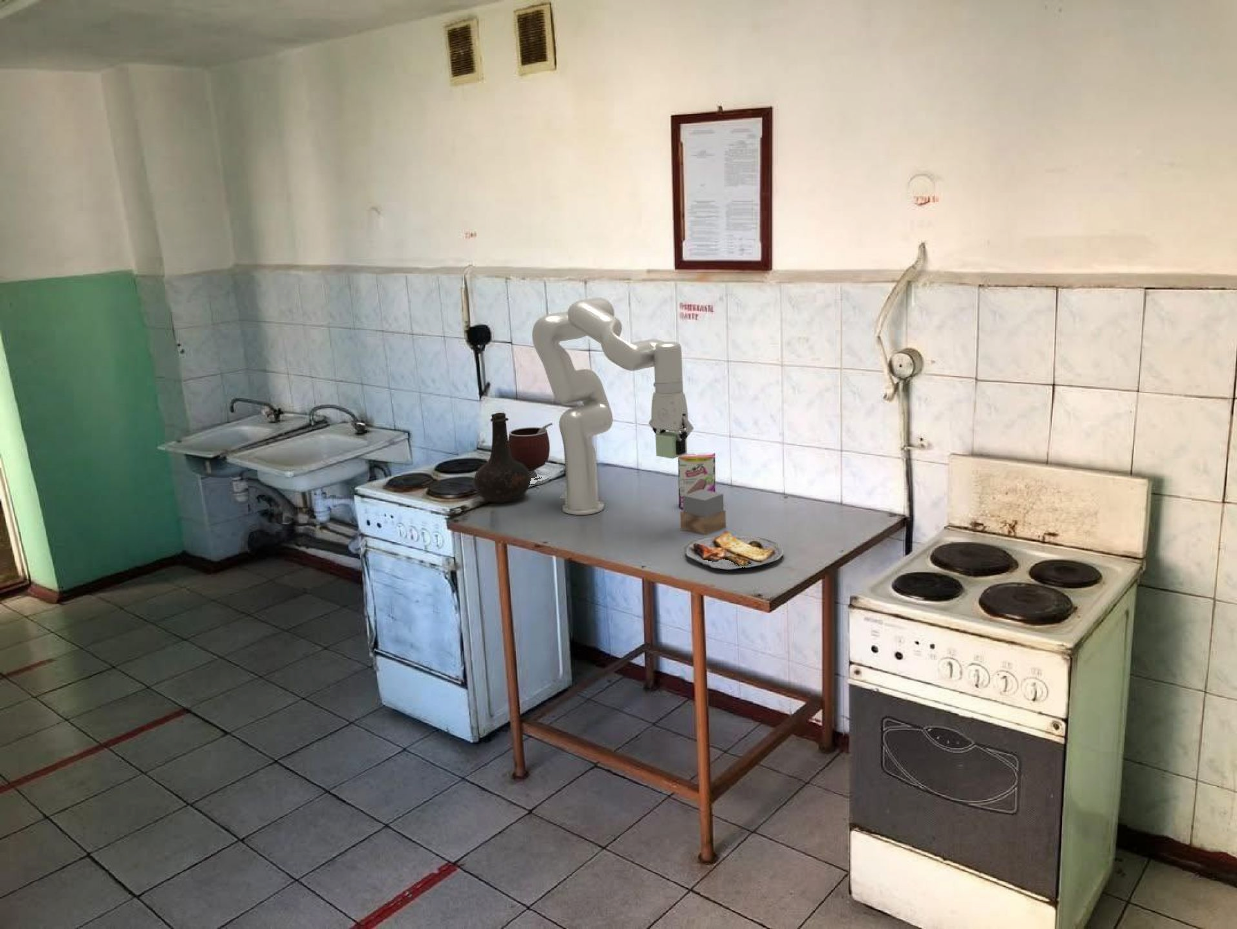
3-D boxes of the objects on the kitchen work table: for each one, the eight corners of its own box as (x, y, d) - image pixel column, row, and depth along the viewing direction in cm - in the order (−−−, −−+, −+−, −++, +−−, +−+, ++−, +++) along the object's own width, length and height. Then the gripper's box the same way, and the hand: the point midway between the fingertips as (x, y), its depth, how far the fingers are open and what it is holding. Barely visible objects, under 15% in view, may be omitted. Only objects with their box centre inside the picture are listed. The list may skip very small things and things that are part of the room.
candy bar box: (678, 509, 301) (677, 456, 297) (679, 504, 306) (677, 452, 302) (716, 508, 300) (715, 455, 296) (716, 503, 305) (715, 451, 300)
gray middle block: (683, 512, 282) (682, 495, 280) (701, 505, 287) (701, 489, 286) (705, 517, 276) (704, 500, 275) (723, 510, 282) (723, 493, 280)
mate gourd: (506, 485, 335) (501, 427, 330) (517, 474, 349) (512, 418, 344) (551, 485, 333) (547, 427, 328) (560, 474, 346) (556, 418, 341)
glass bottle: (469, 507, 313) (461, 420, 306) (483, 491, 330) (476, 408, 323) (525, 507, 310) (519, 419, 303) (536, 491, 327) (531, 407, 320)
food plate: (667, 554, 263) (667, 541, 262) (734, 535, 275) (734, 523, 275) (731, 582, 243) (731, 569, 242) (799, 561, 256) (800, 548, 255)
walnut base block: (680, 529, 283) (680, 512, 282) (701, 521, 289) (700, 505, 288) (705, 535, 277) (705, 518, 276) (725, 527, 283) (725, 510, 282)
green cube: (656, 455, 276) (655, 434, 274) (670, 451, 280) (669, 430, 278) (672, 458, 272) (671, 437, 270) (687, 454, 276) (686, 432, 274)
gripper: (636, 387, 275) (639, 451, 279) (683, 392, 263) (686, 459, 267) (655, 383, 280) (658, 446, 284) (702, 388, 268) (704, 453, 272)
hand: (671, 451), depth 275 cm, fingers closed on green cube, 6 cm apart
